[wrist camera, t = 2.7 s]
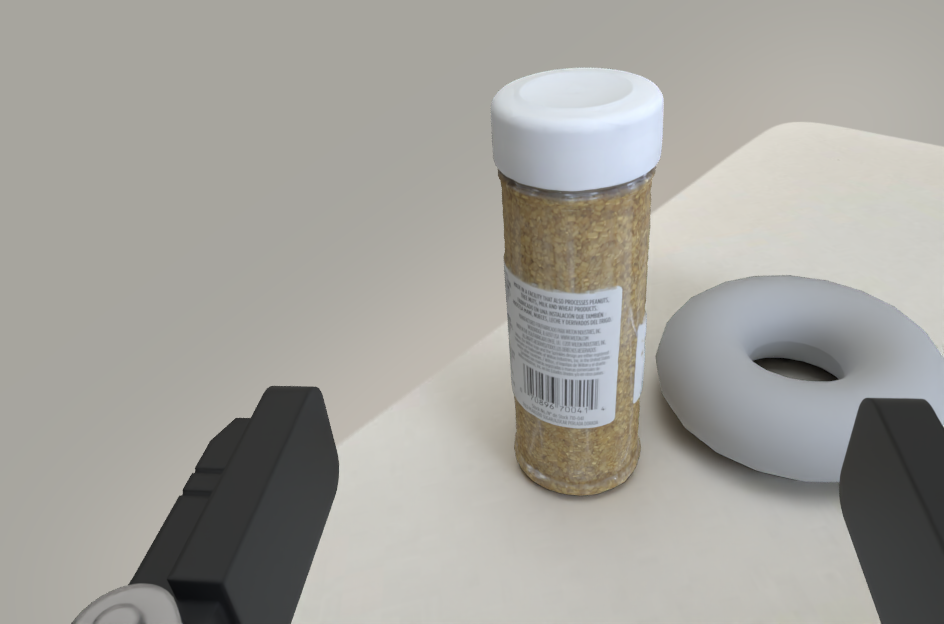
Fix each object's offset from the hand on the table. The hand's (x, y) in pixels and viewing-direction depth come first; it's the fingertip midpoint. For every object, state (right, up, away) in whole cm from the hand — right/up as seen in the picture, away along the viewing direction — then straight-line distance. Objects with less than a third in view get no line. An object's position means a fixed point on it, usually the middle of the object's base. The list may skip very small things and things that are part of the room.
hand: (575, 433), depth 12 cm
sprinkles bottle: (+2, -3, +16) cm, 16 cm away
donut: (+10, -2, +17) cm, 20 cm away
